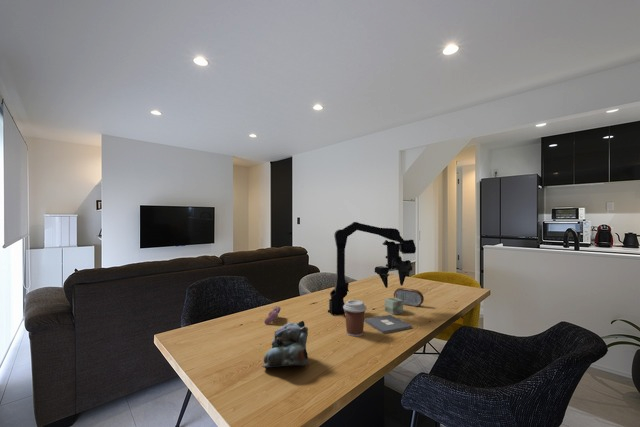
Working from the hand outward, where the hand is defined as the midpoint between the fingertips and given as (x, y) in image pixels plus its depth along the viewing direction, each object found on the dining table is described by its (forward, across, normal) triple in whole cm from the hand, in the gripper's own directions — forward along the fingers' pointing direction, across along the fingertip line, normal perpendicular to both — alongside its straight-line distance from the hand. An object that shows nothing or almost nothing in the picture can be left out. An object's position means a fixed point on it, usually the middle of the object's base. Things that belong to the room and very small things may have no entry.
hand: (394, 286), depth 132 cm
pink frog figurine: (+11, -56, +14) cm, 59 cm away
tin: (+13, +14, +6) cm, 20 cm away
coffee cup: (+12, -31, -13) cm, 35 cm away
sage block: (+12, 0, 0) cm, 12 cm away
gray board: (+12, -14, -11) cm, 21 cm away
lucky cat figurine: (+11, -62, -24) cm, 68 cm away
